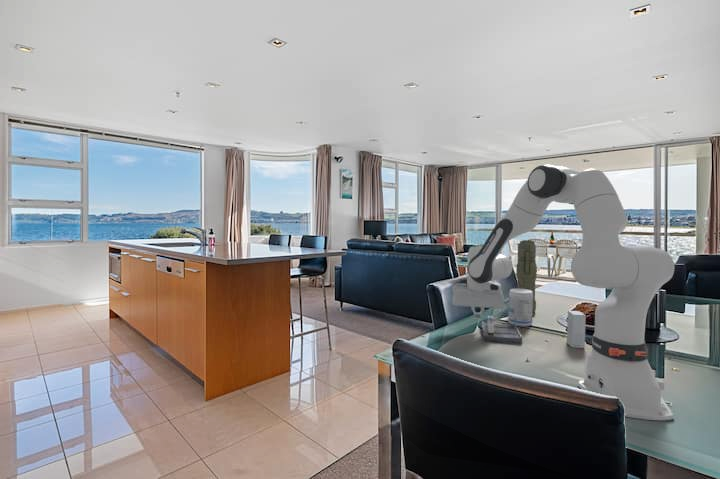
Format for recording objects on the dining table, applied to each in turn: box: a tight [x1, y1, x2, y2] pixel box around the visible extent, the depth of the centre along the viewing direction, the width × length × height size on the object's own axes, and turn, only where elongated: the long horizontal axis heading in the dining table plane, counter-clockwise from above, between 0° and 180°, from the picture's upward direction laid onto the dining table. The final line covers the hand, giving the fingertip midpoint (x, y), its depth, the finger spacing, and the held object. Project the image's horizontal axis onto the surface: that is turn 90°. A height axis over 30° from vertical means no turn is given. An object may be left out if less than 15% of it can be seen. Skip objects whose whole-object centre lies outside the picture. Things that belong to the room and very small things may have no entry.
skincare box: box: [566, 310, 587, 349], centre depth 137 cm, size 6×4×12 cm
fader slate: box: [486, 314, 494, 325], centre depth 153 cm, size 4×2×4 cm, turn 166°
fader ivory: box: [487, 321, 494, 333], centre depth 146 cm, size 4×2×4 cm, turn 166°
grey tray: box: [481, 320, 523, 345], centre depth 149 cm, size 18×13×3 cm
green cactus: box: [515, 239, 538, 317], centre depth 180 cm, size 9×12×35 cm
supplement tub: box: [507, 288, 533, 328], centre depth 163 cm, size 10×10×15 cm
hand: (477, 317), depth 155 cm, fingers closed
